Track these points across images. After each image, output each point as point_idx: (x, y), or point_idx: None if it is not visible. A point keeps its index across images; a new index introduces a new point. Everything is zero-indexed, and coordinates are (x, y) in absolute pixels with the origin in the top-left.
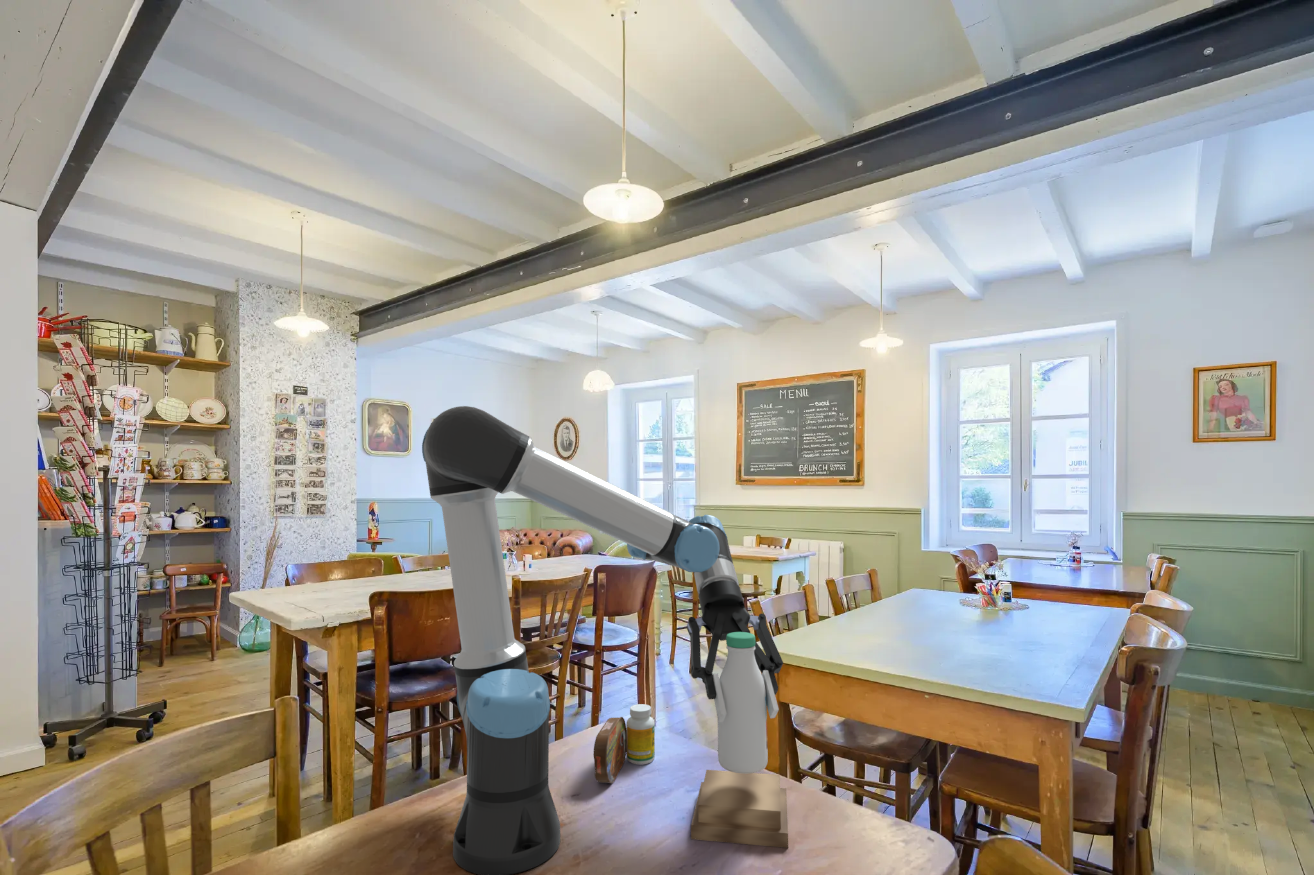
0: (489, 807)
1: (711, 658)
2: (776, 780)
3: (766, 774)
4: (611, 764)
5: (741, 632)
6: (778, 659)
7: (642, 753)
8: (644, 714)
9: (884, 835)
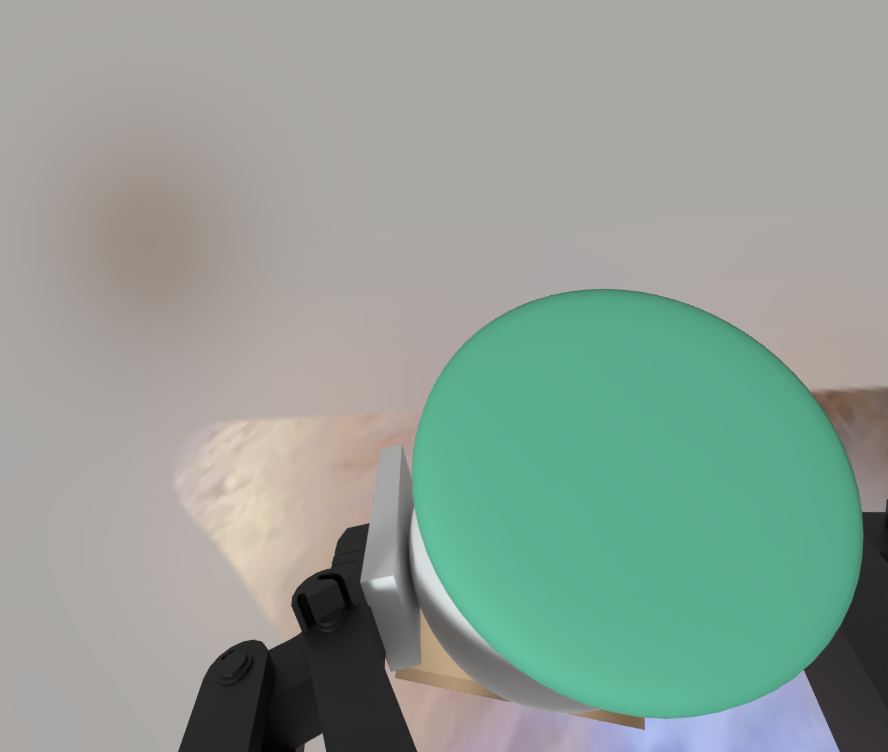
0: None
1: (869, 596)
2: (422, 625)
3: (445, 669)
4: None
5: (621, 604)
6: (226, 695)
7: None
8: None
9: (245, 509)
